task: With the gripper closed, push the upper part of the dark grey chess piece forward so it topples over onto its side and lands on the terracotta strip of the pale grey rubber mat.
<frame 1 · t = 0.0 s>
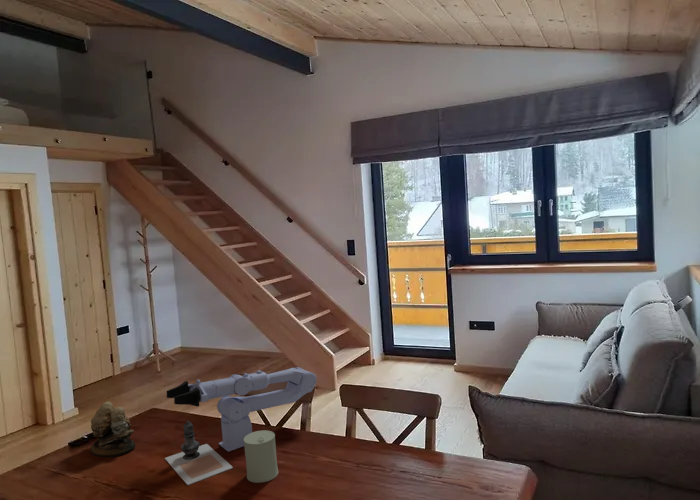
hand: (170, 397, 160), 22 cm above the table, tool horizontal, fingers open, 7 cm apart
can: (262, 475, 152), on the table
rock sculpture: (114, 449, 177), on the table
dark grey chess piece: (191, 456, 167), resting on mat
mat: (197, 463, 162), on the table
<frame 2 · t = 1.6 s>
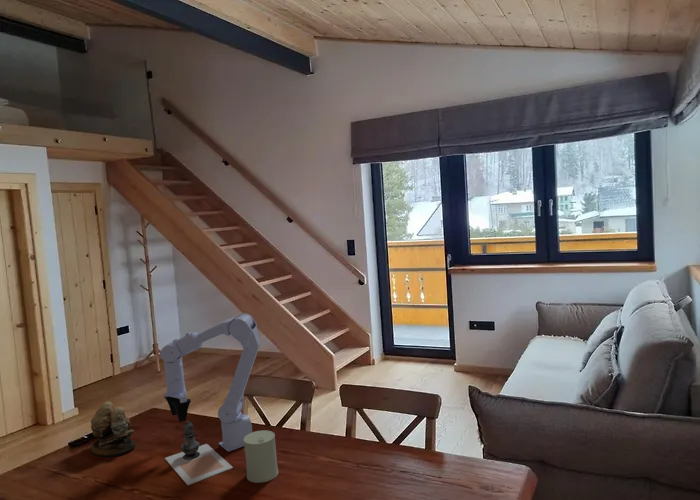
hand: (179, 417, 173), 10 cm above the table, tool pointing down, fingers open, 7 cm apart
nothing on the table moved.
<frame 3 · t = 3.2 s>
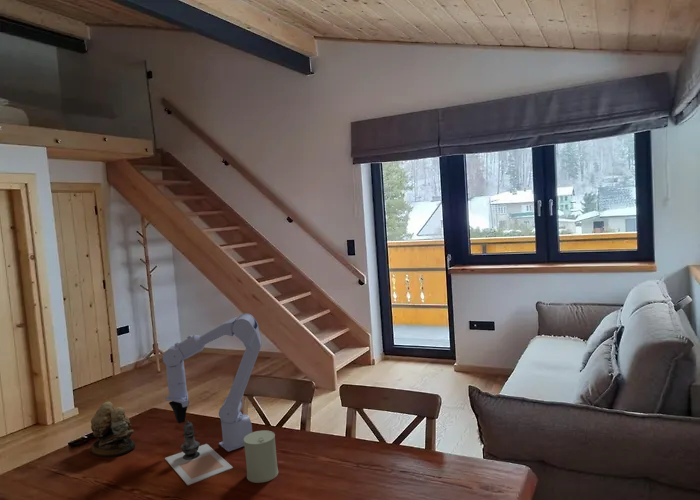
hand: (181, 422, 172), 9 cm above the table, tool pointing down, fingers closed
nothing on the table moved.
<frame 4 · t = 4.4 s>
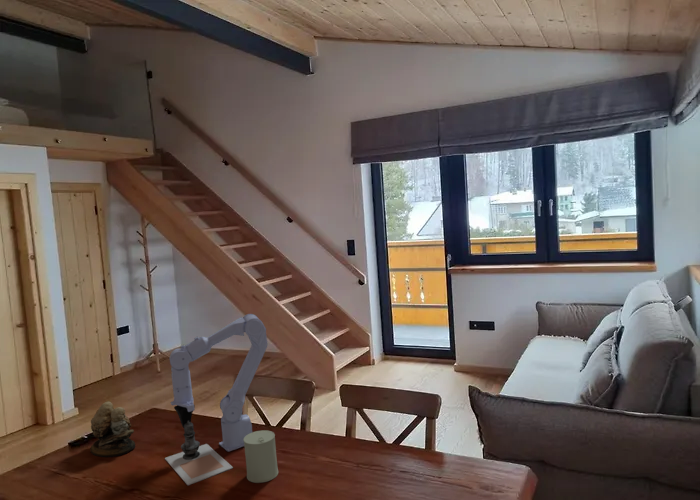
hand: (186, 426, 168), 9 cm above the table, tool pointing down, fingers closed
dark grey chess piece: (191, 456, 167), resting on mat, touching gripper
everything else where it was.
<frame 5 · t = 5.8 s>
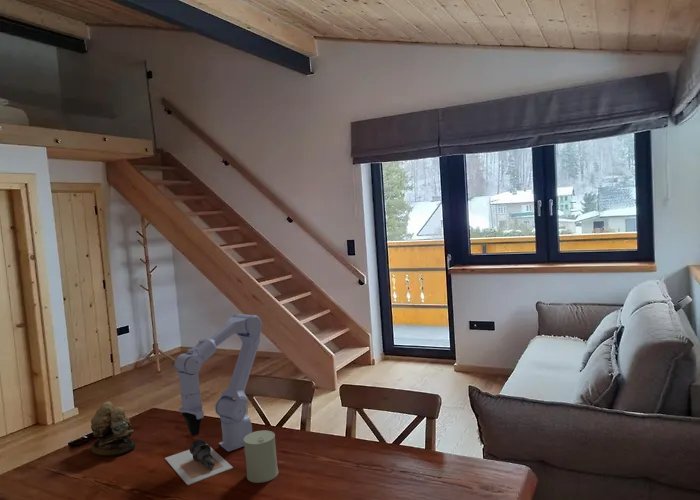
hand: (194, 434, 161), 9 cm above the table, tool pointing down, fingers closed
dark grey chess piece: (197, 446, 165), point 4 cm above the table, touching mat
everything else where it was.
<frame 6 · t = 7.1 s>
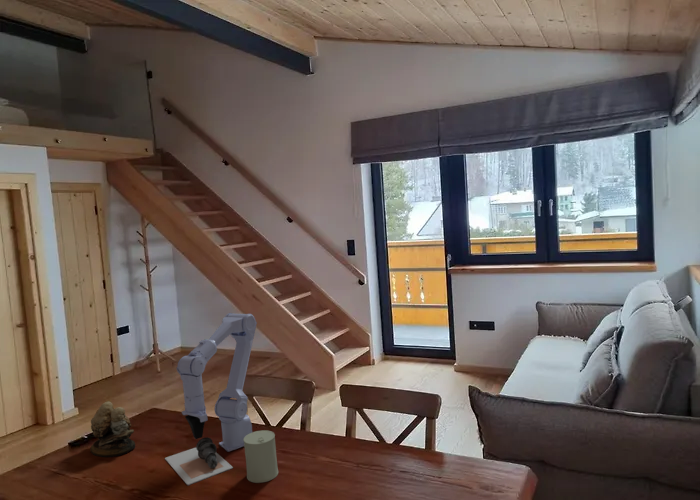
hand: (198, 437, 159), 9 cm above the table, tool pointing down, fingers closed
dark grey chess piece: (204, 444, 166), point 4 cm above the table, touching mat
everything else where it was.
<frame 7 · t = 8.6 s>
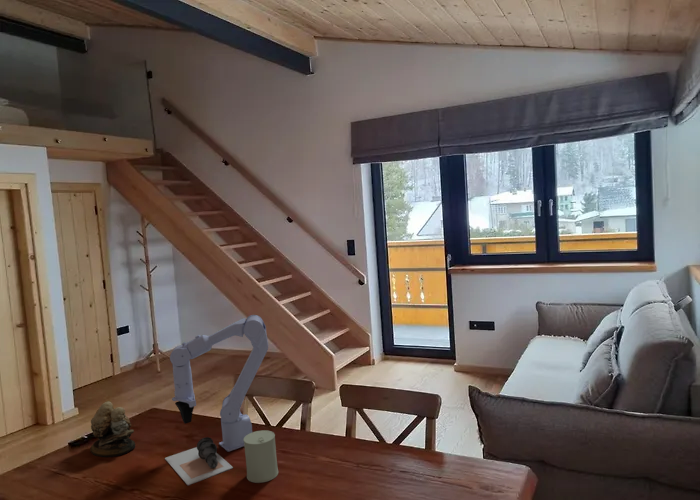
hand: (187, 422, 170), 10 cm above the table, tool pointing down, fingers closed
nothing on the table moved.
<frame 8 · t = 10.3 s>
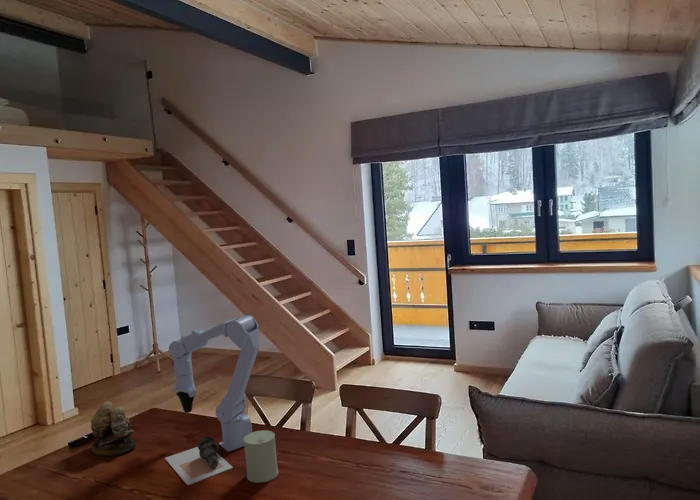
hand: (188, 411, 178), 10 cm above the table, tool pointing down, fingers closed
nothing on the table moved.
at the end: dark grey chess piece tilted 103°; dark grey chess piece touching mat; dark grey chess piece 4.8 cm from the mat (horizontally) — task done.
